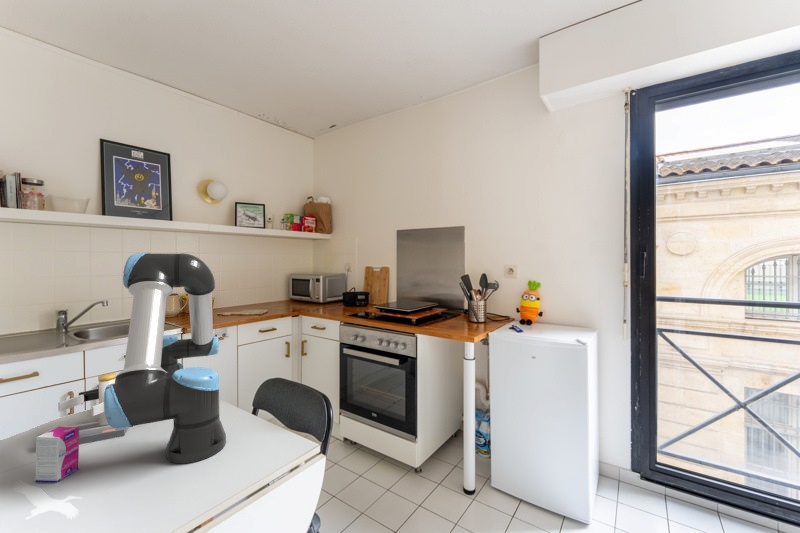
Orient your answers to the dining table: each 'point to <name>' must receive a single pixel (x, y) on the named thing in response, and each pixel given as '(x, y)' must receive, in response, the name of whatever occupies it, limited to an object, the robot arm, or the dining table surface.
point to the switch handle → (103, 383)
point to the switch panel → (97, 432)
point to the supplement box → (57, 454)
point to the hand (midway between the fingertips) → (75, 409)
